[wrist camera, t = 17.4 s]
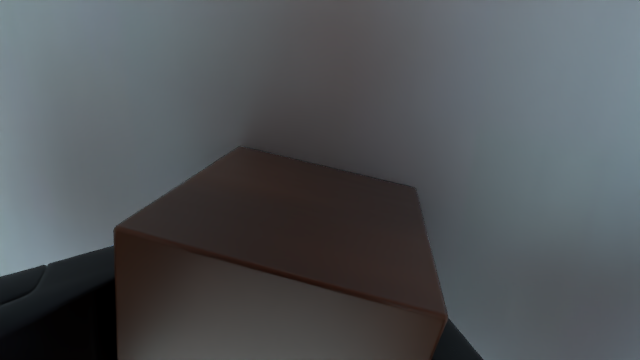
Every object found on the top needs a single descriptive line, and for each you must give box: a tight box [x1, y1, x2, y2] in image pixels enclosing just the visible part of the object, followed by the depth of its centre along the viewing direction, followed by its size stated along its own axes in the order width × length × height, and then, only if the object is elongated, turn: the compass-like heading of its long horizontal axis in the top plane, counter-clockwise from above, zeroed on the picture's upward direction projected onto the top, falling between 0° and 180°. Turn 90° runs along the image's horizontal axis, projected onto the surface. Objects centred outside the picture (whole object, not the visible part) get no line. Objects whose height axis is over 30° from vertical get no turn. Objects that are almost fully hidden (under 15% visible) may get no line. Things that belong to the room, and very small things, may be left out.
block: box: [113, 146, 448, 360], centre depth 7 cm, size 4×4×4 cm
